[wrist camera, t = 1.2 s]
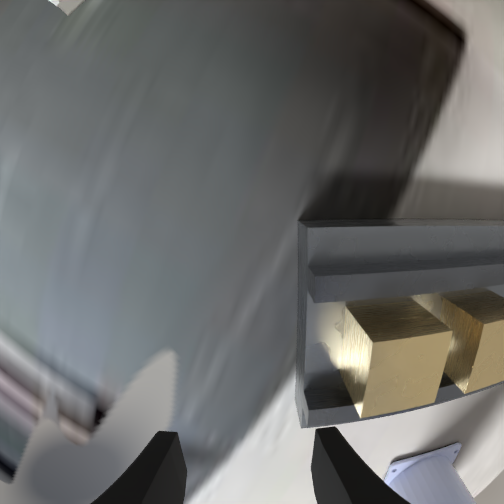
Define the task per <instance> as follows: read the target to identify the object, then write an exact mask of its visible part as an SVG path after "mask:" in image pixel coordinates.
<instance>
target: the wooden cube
mask: <svg viewBox="0 0 504 504" xmlns="http://www.w3.org/2000/svg"><path fill="white" fill-rule="evenodd" d="M452 333H453V330H452V329H450V328H449V327H448V326H447V325H445V324H444V323H443V322H441V321H440V320H439V319H438V318H436V317H435V316H434V315H433V314H431V313H430V312H429V311H427V310H426V309H425V308H424V307H422V306H421V305H420V304H418V303H417V302H416V301H414V300H413V301H404V302H394V303H383V304H372V305H360V306H347V307H346V309H345V323H344V336H343V347H342V358H341V367H340V375H341V377H342V379H343V381H344V383H345V385H346V388H347V390H348V392H349V394H350V396H351V398H352V401H353V403H354V405H355V407H356V409H357V412H358V414H359V416H360V418H364V417H370V416H376V415H381V414H386V413H391V412H396V411H401V410H406V409H410V408H414V407H419V406H423V405H427V404H431V403H434V402H435V399H436V395H437V392H438V389H439V385H440V382H441V378H442V375H443V371H444V367H445V363H446V359H447V355H448V351H449V346H450V342H451V337H452Z"/></svg>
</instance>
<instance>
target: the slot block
mask: <svg viewBox="0 0 504 504" xmlns="http://www.w3.org/2000/svg"><path fill="white" fill-rule="evenodd" d="M485 291H492V292H494V293H496V294H498V295H500V296H502V297H504V220H465V219H351V220H299V221H298V323H297V362H296V389H295V402H296V407H297V412H298V416H299V421H300V426H301V428H310V427H320V426H328V425H336V424H343V423H350V422H357V421H363V420H369V419H374V418H380V417H385V416H390V415H395V414H399V413H404V412H408V411H413V410H417V409H421V408H425V407H429V406H433V405H437V404H440V403H444V402H447V401H451V400H454V399H458V398H461V397H464V396H467V395H471V394H474V393H477V392H480V391H483V390H485V389H488V388H491V387H494V386H497V385H499V384H502V383H504V381H501V382H498V383H496V384H493V385H490V386H487V387H484V388H481V389H478V390H475V391H472V392H469V393H466V394H464V393H463V392H462V391H461V389H460V388H459V387H458V386H457V385H456V384H455V383H454V382H453V381H452V380H451V379H450V378H449V377H448V376H447V374H446V373H445V372H444V371H443V375H442V378H441V382H440V385H439V389H438V392H437V395H436V399H435V402H434V403H431V404H427V405H423V406H419V407H414V408H410V409H406V410H401V411H396V412H391V413H386V414H381V415H376V416H370V417H364V418H360V416H359V414H358V412H357V409H356V407H355V405H354V403H353V401H352V398H351V396H350V394H349V392H348V390H347V388H346V385H345V383H344V381H343V379H342V377H341V375H340V367H341V358H342V347H343V336H344V323H345V309H346V307H347V306H360V305H372V304H383V303H394V302H404V301H413V300H414V301H416V302H417V303H418V304H420V305H421V306H422V307H424V308H425V309H426V310H427V311H429V312H430V313H431V314H433V315H434V316H435V317H436V318H438V319H439V320H440V314H441V308H442V302H443V297H448V296H456V295H463V294H471V293H478V292H485Z"/></svg>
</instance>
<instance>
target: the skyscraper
mask: <svg viewBox="0 0 504 504" xmlns="http://www.w3.org/2000/svg"><path fill="white" fill-rule="evenodd" d="M48 1H50V2H52V3H53V4H55V5H56V6H58V7H59V8H60V9H61V10H63V11H64V12H65V13H66V14H67V15H68V16H69V15H70V14H71V13H73V12H74V11H75V10H76V9H77V8H78V7H79V6H80V5H81V4H82V3H83V2H84V1H85V0H48Z"/></svg>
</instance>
